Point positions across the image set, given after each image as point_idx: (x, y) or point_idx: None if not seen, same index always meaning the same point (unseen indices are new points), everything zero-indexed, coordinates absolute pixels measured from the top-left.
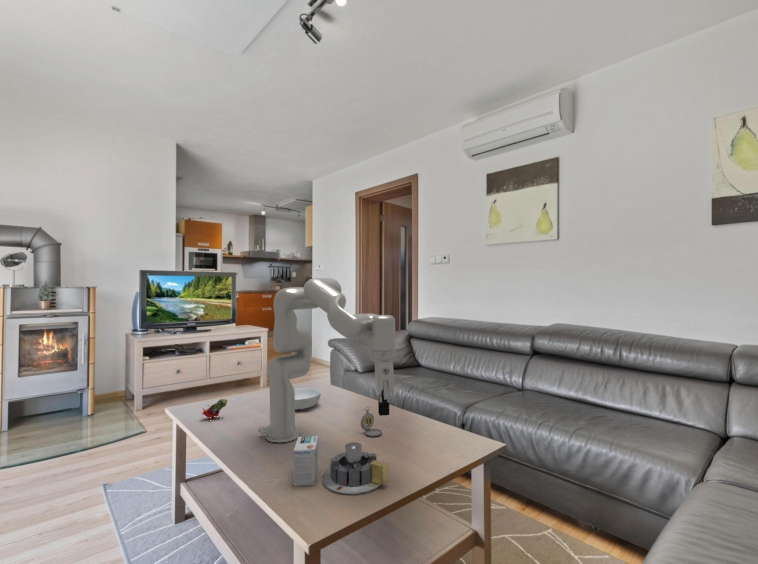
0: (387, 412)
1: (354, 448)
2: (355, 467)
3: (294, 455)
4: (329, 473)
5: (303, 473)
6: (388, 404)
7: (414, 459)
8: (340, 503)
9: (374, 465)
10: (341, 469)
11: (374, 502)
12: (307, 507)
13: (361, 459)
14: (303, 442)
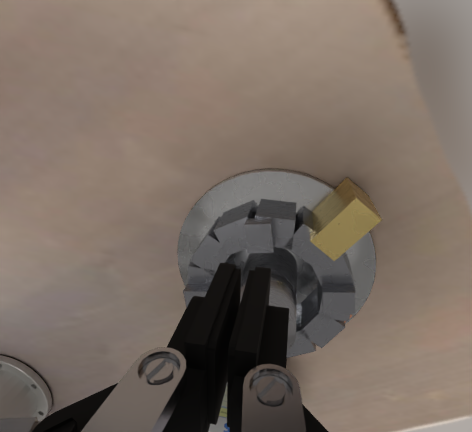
0: (268, 293)
1: (290, 334)
2: (353, 312)
3: None
4: None
5: None
6: (258, 339)
7: (162, 17)
8: (401, 314)
9: (350, 245)
10: (321, 337)
11: (434, 231)
12: (391, 380)
13: (277, 275)
14: None
